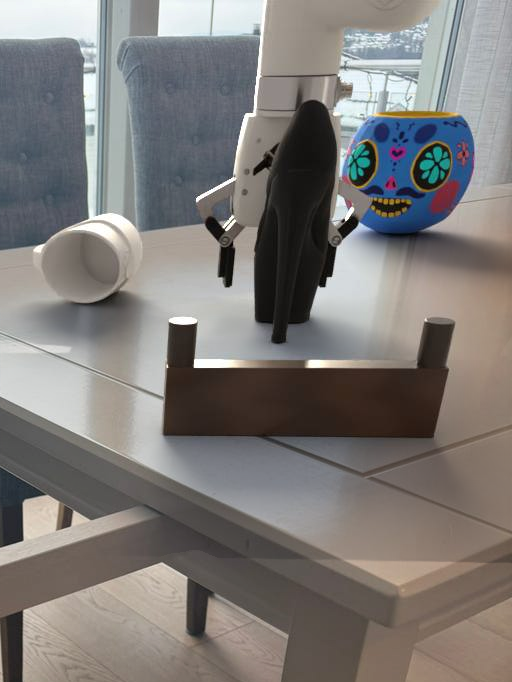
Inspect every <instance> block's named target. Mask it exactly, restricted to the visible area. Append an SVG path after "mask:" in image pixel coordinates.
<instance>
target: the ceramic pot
mask: <svg viewBox="0 0 512 682" xmlns="http://www.w3.org/2000/svg"><path fill="white" fill-rule="evenodd" d="M475 153H476V151H475V140H474V136H473V133H472V130H471V127H470V125H469V123H468V122H467V120H466V119H465V118H464V116H463V115H462V114H460V113H458V112H457V113H456V112H450V111H438V110H396V111H395V110H394V111H392V110H391V111H382V112H381V111H380V112H375V113H373V114H371V115H370V116H369V117H368V118H367V119H365V121H363V122H362V124H361V125H360V126H359V128H358V129H357V130H356V132H355V133H354V135H353V137H352V138H351V140H350V143H349V145H348V148H347V150H346V153H345V156H344V159H343V163H342V166H341V180H342V181H344V182H346V183H347V184H349V185H351V186H352V187H354V188H356V189H357V190H359V191H361V192H362V193H364V194H366V195H367V196H369V197H370V198H371V199H372V203H371V205H370V207H369V208H368V210H367V211H366V213H365V215H364V216H363V218H362V219H361V220H360V222H359V224H361V225H363V226H364V227H366V228H367V229H370V230H372V231H375V232H379V233H385V234H394V235H395V234H398V235H399V234H401V235H402V234H413V233H416V232H417V233H418V232H421V231H424V230H427V229H428V228H430V227H433V226H435V225H437V224H439V223H441V222H443V221H445V220H446V219H448V217H449V216H450V215H451V214H452V213H453V211H454V210H455V209H456V208H457V206H458V205H459V203H460V202H461V200H462V199H463V197H464V195H465V194H466V192H467V189H468V188H469V185H470V182H471V181H472V178H473V175H474V170H475V158H476V157H475ZM343 201H344V203H345V206H346V208H347V211H348V213H349V212H350V209H351V207H352V203H351V202H350V201H348V200H347V199H345V198H343Z"/></svg>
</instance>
